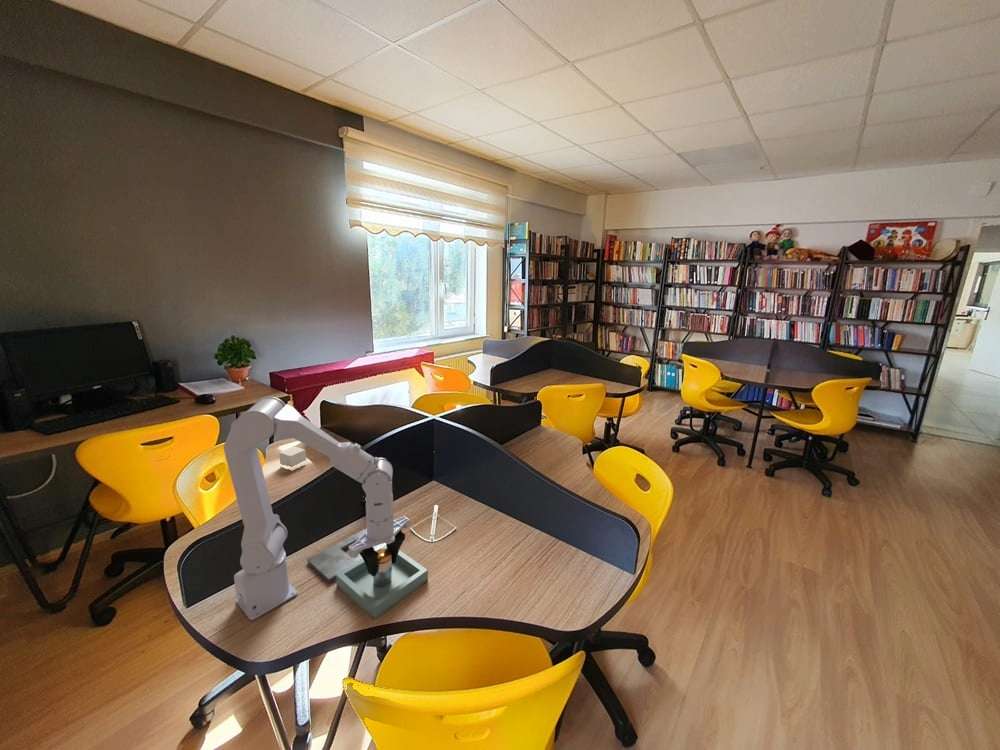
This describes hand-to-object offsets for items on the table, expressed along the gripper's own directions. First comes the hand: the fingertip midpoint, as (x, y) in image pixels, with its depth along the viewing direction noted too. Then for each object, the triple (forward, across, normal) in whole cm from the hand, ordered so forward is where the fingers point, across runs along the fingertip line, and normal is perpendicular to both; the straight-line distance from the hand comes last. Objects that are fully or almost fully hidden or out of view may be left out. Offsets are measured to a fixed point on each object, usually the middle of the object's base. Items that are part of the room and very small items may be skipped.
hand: (382, 567), depth 92 cm
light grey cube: (+4, +13, +71) cm, 72 cm away
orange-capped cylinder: (+3, 0, 0) cm, 4 cm away
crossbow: (+5, +23, +8) cm, 25 cm away
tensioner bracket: (+4, +2, +14) cm, 15 cm away
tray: (+4, 0, 0) cm, 4 cm away
